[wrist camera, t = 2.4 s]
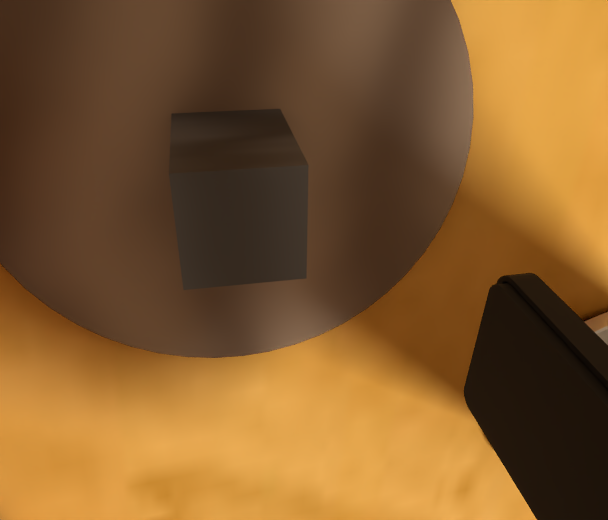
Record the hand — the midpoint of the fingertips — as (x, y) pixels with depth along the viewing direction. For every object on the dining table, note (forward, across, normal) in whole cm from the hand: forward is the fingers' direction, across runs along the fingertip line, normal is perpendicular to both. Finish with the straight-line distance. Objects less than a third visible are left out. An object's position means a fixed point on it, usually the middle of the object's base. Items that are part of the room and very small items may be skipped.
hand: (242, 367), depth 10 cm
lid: (+12, -1, +1) cm, 12 cm away
